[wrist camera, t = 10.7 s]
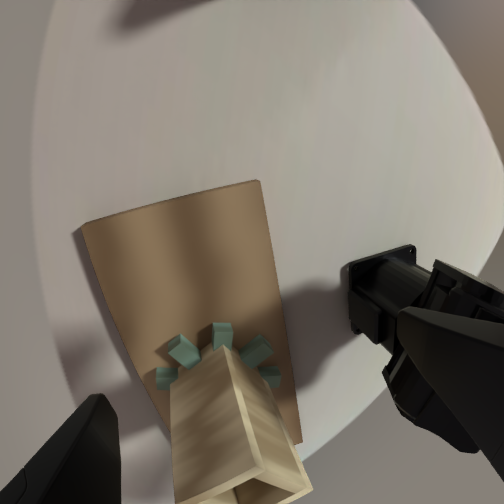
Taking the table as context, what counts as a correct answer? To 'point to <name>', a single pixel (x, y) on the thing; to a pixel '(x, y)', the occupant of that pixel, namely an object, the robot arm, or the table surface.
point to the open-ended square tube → (229, 425)
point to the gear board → (193, 282)
